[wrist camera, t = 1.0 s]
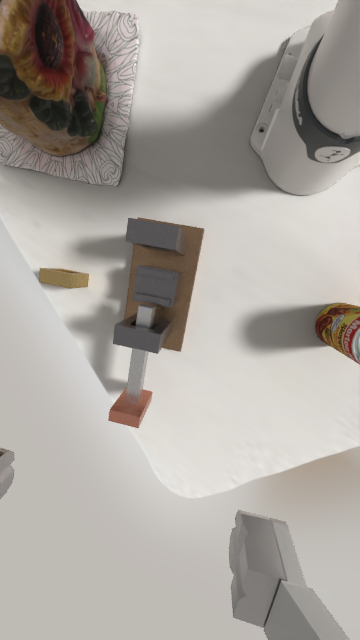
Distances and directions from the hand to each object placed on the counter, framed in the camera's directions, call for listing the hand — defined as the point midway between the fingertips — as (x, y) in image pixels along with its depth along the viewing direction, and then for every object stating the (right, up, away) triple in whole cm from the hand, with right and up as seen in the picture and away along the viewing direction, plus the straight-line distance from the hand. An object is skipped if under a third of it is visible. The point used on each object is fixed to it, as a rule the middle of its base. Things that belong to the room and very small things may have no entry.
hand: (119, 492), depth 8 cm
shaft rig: (-1, +13, +37) cm, 39 cm away
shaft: (-4, 0, +35) cm, 35 cm away
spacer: (-19, +15, +39) cm, 46 cm away
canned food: (+31, +5, +34) cm, 46 cm away
